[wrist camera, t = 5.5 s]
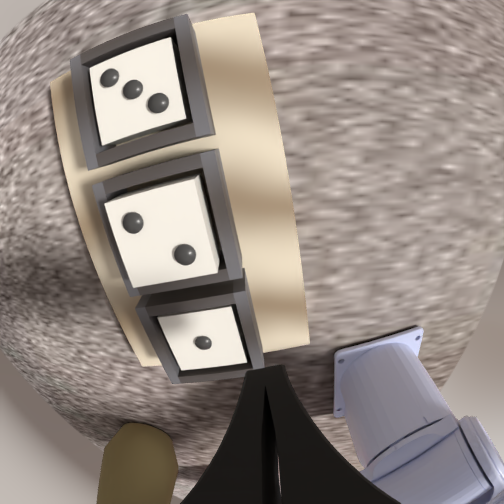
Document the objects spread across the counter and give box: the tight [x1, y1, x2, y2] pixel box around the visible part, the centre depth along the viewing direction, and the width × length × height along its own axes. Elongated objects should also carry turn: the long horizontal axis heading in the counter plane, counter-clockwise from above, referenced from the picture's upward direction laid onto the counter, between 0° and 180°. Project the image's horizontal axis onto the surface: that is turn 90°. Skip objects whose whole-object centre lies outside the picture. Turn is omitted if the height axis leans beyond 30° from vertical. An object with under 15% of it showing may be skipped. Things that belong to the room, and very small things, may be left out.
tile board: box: [50, 13, 310, 384], centre depth 14 cm, size 20×12×4 cm, turn 11°
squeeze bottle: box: [97, 423, 178, 504], centre depth 16 cm, size 8×8×18 cm
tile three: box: [90, 37, 193, 146], centre depth 11 cm, size 4×4×2 cm
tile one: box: [157, 304, 247, 370], centre depth 16 cm, size 4×4×2 cm
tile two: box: [105, 173, 220, 288], centre depth 12 cm, size 4×4×2 cm
